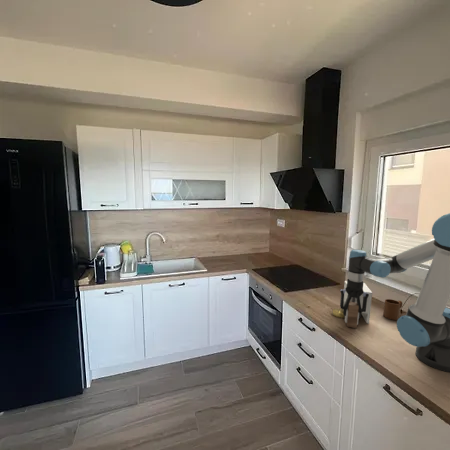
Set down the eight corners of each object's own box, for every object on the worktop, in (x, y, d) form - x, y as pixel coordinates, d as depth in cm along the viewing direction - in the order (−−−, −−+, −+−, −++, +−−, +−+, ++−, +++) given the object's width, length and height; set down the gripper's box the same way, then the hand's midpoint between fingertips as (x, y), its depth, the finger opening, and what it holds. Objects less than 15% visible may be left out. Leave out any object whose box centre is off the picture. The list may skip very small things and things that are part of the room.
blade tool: (356, 328, 132) (358, 306, 131) (347, 326, 134) (349, 304, 132) (349, 311, 151) (351, 292, 149) (341, 310, 152) (343, 291, 151)
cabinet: (369, 324, 138) (372, 293, 136) (347, 320, 141) (350, 290, 139) (362, 310, 154) (364, 282, 152) (342, 308, 157) (344, 280, 155)
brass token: (348, 317, 145) (348, 313, 145) (337, 318, 144) (337, 314, 143) (340, 312, 152) (340, 308, 152) (329, 312, 151) (330, 308, 150)
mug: (394, 312, 154) (395, 297, 153) (406, 318, 147) (408, 302, 146) (379, 315, 149) (381, 299, 148) (392, 321, 142) (394, 305, 141)
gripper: (372, 279, 133) (367, 321, 136) (336, 275, 138) (332, 316, 141) (376, 284, 126) (371, 328, 129) (338, 279, 131) (334, 322, 134)
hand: (351, 322), depth 135 cm, fingers closed on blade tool, 4 cm apart
